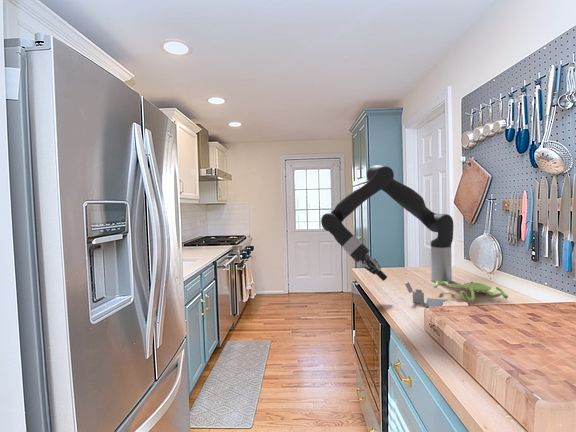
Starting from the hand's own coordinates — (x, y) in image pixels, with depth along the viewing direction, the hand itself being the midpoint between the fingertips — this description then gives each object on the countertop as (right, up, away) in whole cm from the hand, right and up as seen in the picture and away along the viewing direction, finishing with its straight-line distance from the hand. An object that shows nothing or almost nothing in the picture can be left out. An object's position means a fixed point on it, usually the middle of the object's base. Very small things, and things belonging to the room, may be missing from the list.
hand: (385, 279), depth 139 cm
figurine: (+36, -8, +3) cm, 37 cm away
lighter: (+10, -9, -5) cm, 14 cm away
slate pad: (+21, -8, -10) cm, 25 cm away
